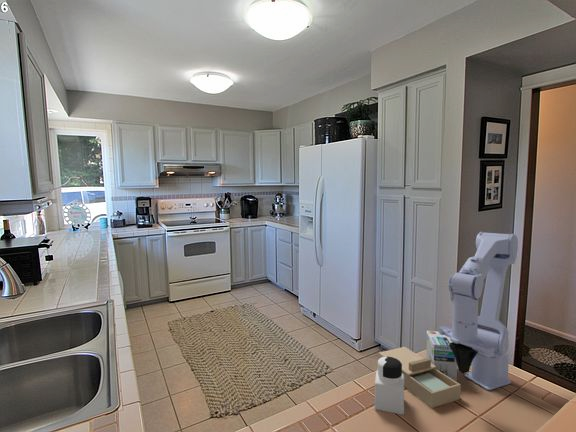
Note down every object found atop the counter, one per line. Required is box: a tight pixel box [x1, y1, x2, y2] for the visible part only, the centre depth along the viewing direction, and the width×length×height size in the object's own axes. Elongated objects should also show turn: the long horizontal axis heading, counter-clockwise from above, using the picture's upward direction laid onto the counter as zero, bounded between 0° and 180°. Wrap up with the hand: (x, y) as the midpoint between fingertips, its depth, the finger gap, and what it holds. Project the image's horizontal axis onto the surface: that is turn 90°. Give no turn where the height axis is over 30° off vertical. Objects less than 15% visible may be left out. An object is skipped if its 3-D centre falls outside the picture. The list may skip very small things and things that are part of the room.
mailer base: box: [402, 369, 462, 409], centre depth 91 cm, size 10×13×4 cm
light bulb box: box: [425, 330, 458, 382], centre depth 100 cm, size 11×7×11 cm, turn 168°
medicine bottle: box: [374, 356, 405, 416], centre depth 85 cm, size 7×7×12 cm
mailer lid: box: [378, 346, 436, 376], centre depth 99 cm, size 10×13×3 cm
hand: (463, 371), depth 83 cm, fingers closed
